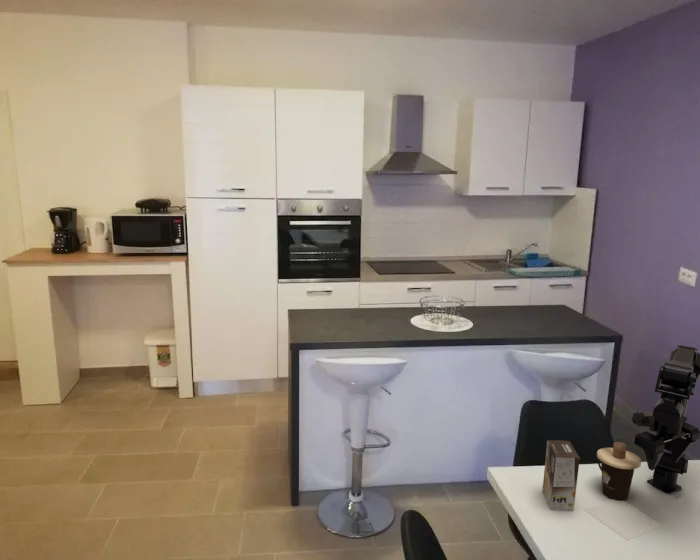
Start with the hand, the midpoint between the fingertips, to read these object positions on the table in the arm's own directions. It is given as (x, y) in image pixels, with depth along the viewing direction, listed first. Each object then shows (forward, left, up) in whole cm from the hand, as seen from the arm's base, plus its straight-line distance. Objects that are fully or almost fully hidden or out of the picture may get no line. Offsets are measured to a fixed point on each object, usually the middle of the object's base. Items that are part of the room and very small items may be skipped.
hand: (662, 465), depth 142 cm
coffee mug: (+4, -10, -13) cm, 17 cm away
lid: (+4, -10, -3) cm, 11 cm away
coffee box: (+22, -14, -13) cm, 29 cm away
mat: (+12, -1, -13) cm, 18 cm away
